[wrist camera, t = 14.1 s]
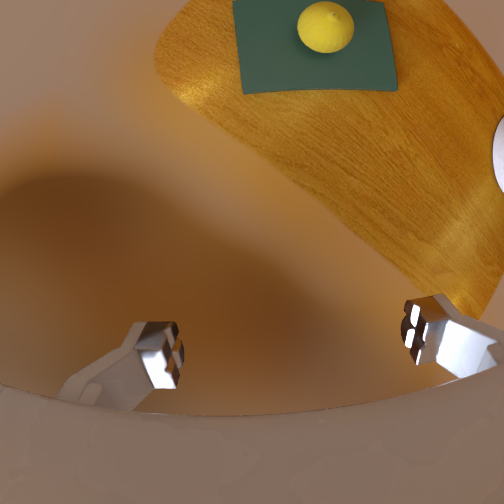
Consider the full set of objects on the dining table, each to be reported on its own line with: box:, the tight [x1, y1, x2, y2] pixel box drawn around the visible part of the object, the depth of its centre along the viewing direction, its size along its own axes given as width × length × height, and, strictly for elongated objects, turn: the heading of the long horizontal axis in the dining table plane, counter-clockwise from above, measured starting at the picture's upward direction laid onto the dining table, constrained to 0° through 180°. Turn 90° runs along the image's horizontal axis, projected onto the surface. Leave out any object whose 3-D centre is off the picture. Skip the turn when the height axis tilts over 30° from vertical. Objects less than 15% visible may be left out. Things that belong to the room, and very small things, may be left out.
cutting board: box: [232, 0, 398, 94], centre depth 28 cm, size 18×12×2 cm, turn 96°
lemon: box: [297, 1, 354, 53], centre depth 23 cm, size 6×6×8 cm
